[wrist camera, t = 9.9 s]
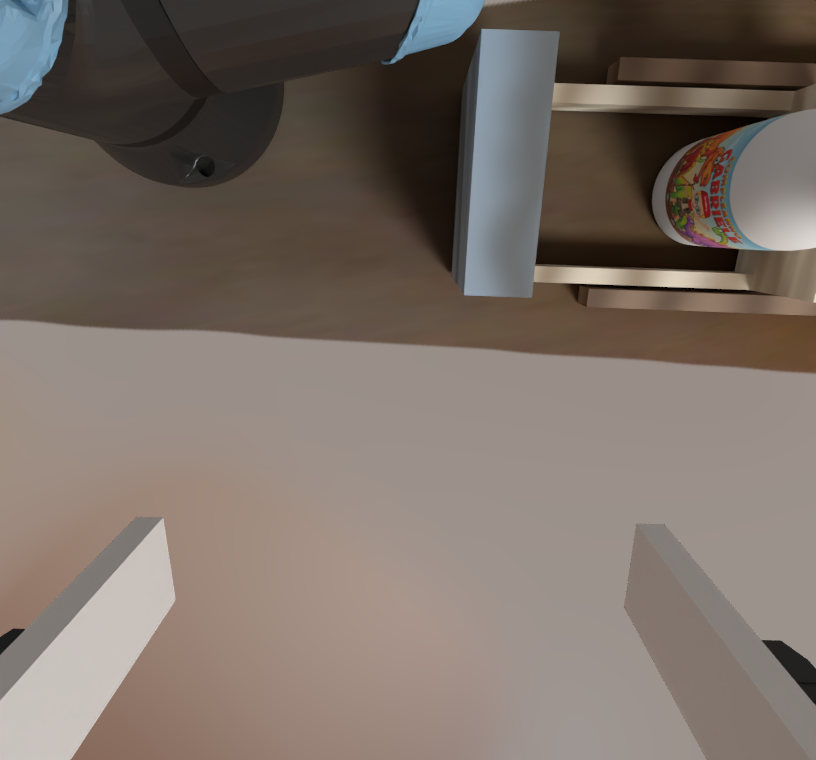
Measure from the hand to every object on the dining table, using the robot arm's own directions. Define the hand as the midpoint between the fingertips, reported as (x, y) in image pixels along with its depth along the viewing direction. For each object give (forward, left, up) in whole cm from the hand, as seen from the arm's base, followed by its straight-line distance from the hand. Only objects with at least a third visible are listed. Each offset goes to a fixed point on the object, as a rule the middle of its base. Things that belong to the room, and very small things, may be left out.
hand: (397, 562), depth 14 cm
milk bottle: (+15, +20, -31) cm, 40 cm away
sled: (+9, +17, -30) cm, 36 cm away
